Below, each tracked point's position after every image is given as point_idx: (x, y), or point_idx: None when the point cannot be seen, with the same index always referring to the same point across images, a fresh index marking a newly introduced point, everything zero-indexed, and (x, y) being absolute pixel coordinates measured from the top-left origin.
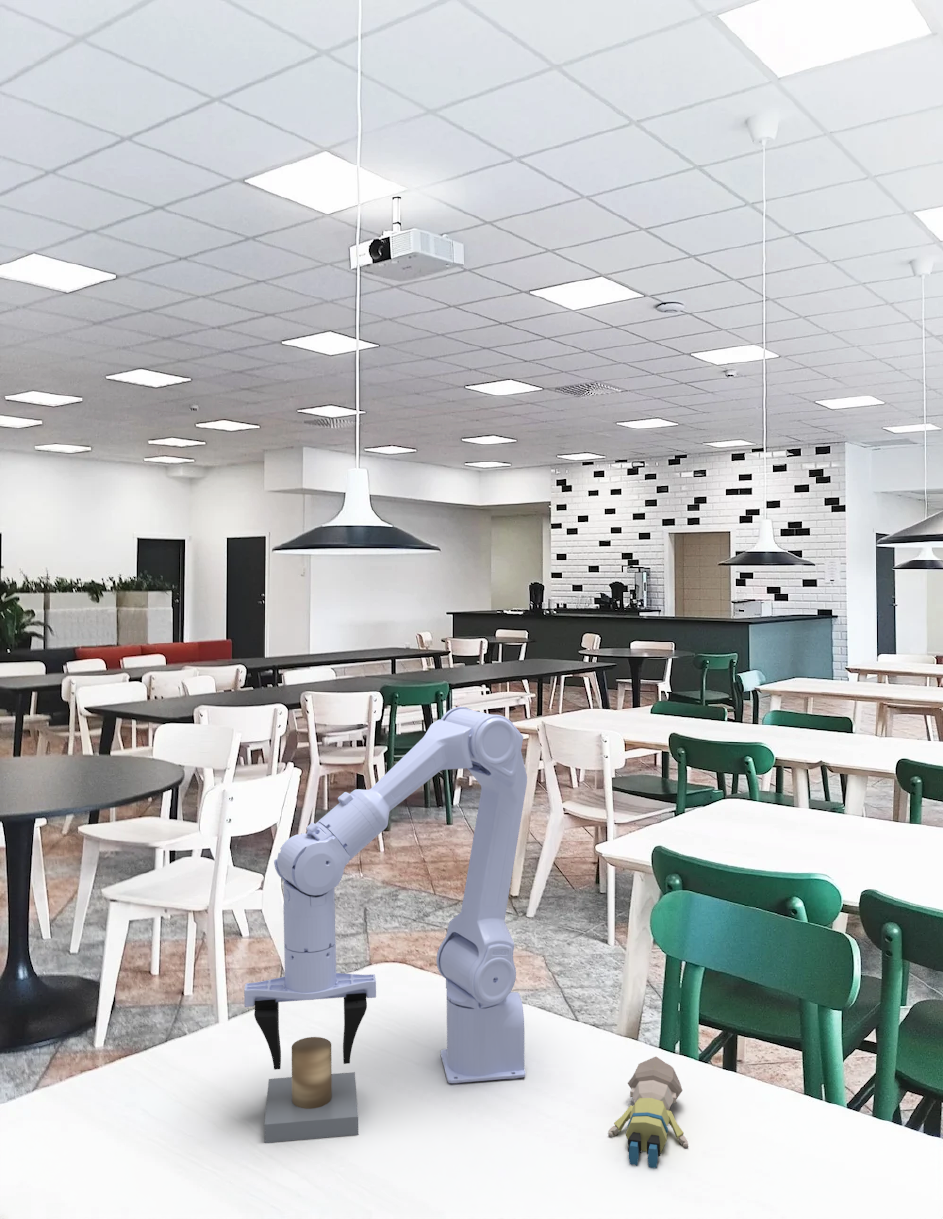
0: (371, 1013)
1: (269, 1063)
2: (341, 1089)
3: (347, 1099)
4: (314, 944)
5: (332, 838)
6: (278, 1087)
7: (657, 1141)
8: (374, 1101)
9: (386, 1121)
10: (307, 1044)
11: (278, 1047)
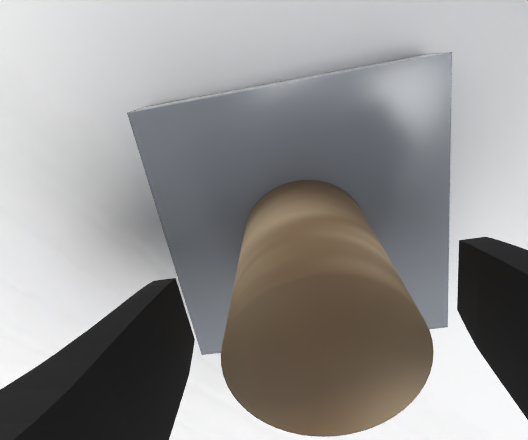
0: None
1: None
2: (398, 185)
3: (418, 243)
4: None
5: None
6: (181, 174)
7: None
8: (486, 137)
9: (507, 241)
10: (300, 348)
11: (165, 428)
